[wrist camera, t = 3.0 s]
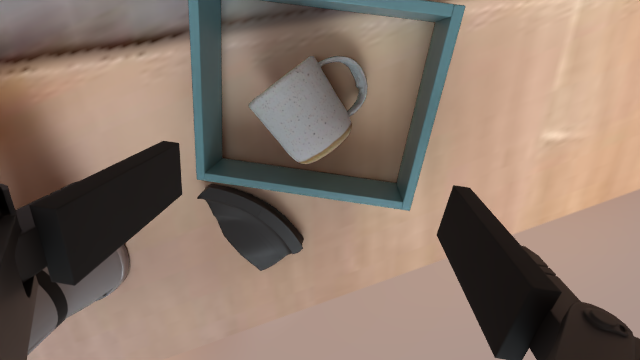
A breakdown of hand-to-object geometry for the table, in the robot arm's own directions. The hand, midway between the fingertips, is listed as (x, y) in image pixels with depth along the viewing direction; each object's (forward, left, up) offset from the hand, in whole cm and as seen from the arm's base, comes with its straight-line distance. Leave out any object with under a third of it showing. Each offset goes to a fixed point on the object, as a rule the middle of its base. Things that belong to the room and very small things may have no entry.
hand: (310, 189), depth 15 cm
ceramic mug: (-2, +1, -20) cm, 21 cm away
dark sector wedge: (-8, -16, -20) cm, 27 cm away
